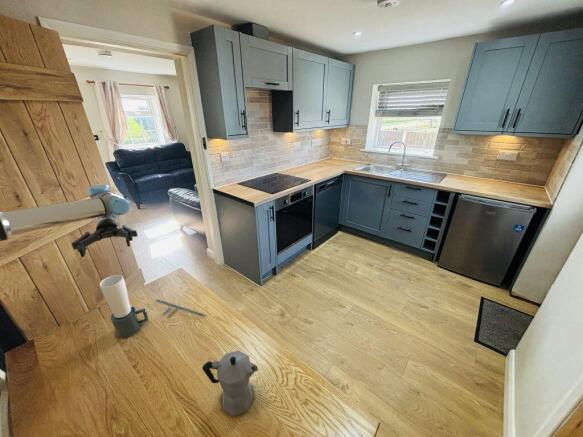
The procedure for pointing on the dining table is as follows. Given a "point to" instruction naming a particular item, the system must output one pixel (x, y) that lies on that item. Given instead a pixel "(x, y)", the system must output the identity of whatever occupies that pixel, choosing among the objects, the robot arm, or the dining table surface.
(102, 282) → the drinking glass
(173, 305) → the grey pronged rod
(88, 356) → the dining table surface
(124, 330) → the mug
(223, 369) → the coffeepot
